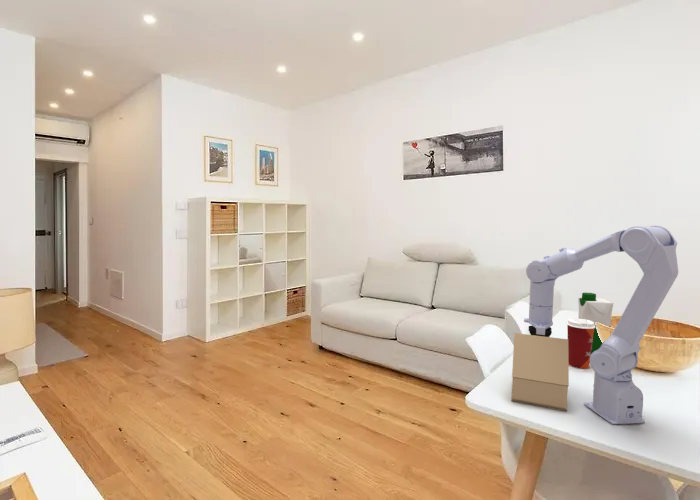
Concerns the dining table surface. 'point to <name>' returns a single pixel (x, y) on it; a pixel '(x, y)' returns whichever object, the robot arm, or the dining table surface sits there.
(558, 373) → the carton lid
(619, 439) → the dining table surface
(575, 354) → the paper cup
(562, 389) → the carton
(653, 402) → the dining table surface
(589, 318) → the milk carton
